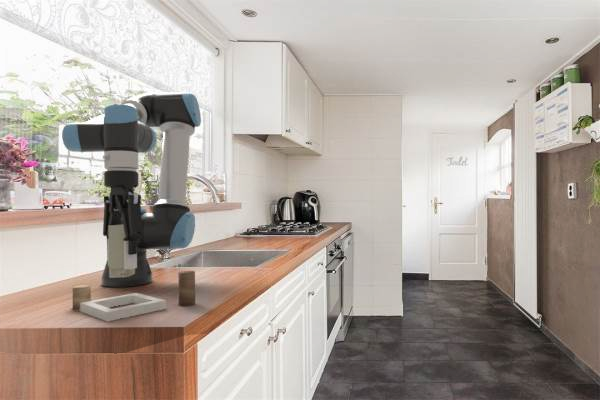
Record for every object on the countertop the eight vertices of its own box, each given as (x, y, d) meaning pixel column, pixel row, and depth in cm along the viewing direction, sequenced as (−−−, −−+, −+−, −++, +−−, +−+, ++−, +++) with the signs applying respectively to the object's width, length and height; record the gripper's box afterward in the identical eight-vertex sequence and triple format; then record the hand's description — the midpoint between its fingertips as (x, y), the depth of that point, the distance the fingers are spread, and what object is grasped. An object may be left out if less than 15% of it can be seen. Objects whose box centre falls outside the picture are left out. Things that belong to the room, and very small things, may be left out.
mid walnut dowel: (175, 304, 108) (175, 272, 108) (189, 301, 111) (188, 270, 111) (184, 306, 105) (184, 274, 105) (198, 303, 108) (198, 271, 108)
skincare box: (128, 277, 100) (127, 225, 100) (107, 278, 99) (107, 225, 100) (135, 273, 106) (135, 223, 106) (116, 274, 106) (116, 224, 106)
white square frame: (80, 311, 102) (80, 302, 102) (136, 300, 113) (136, 292, 113) (107, 321, 93) (107, 312, 93) (165, 308, 104) (165, 300, 104)
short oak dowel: (69, 307, 106) (69, 287, 106) (86, 304, 109) (86, 284, 109) (76, 310, 104) (76, 289, 104) (93, 306, 107) (93, 286, 107)
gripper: (87, 172, 107) (87, 265, 107) (127, 166, 94) (128, 273, 93) (116, 173, 113) (117, 262, 112) (158, 168, 99) (159, 269, 99)
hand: (122, 267), depth 103 cm, fingers closed on skincare box, 7 cm apart
